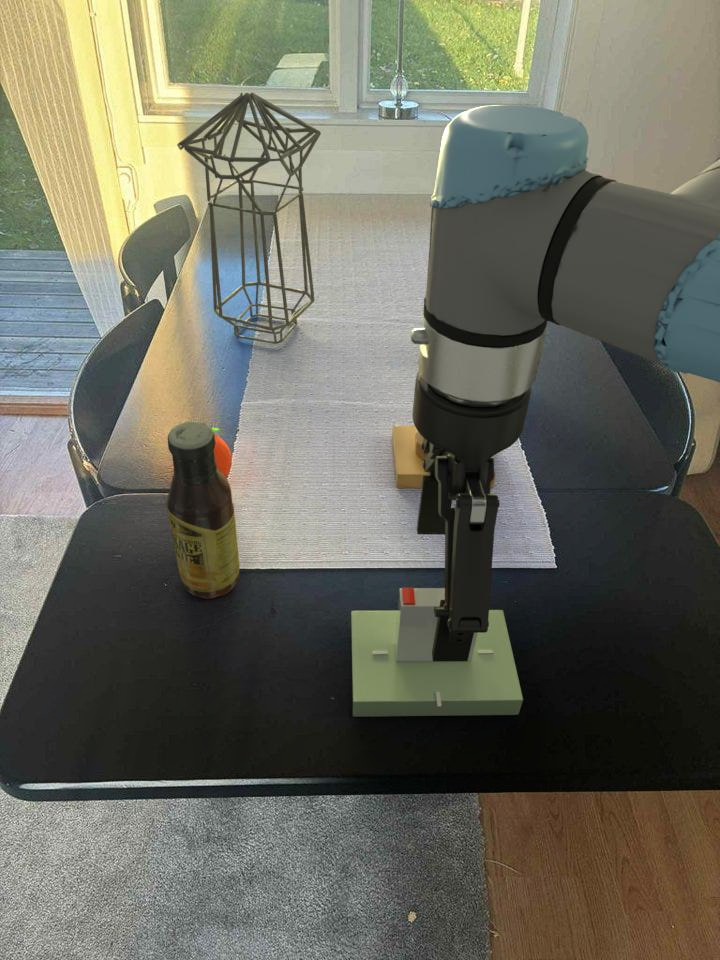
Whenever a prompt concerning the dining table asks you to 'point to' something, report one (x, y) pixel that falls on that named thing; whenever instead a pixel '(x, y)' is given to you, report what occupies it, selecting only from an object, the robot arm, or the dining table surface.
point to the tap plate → (430, 674)
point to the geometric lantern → (237, 113)
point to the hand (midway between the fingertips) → (439, 589)
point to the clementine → (222, 454)
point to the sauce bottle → (201, 513)
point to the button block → (410, 457)
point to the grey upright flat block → (418, 624)
